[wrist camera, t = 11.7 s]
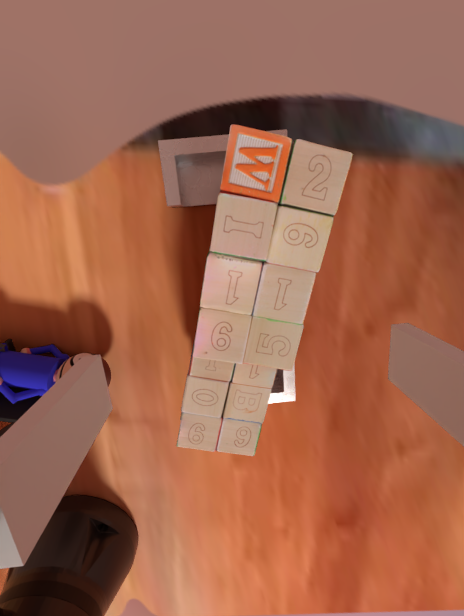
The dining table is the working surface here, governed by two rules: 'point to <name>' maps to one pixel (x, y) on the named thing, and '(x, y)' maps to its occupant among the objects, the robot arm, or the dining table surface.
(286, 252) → the stack of blocks
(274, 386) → the grey piece
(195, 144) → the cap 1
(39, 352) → the character figurine
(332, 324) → the dining table surface
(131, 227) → the dining table surface
